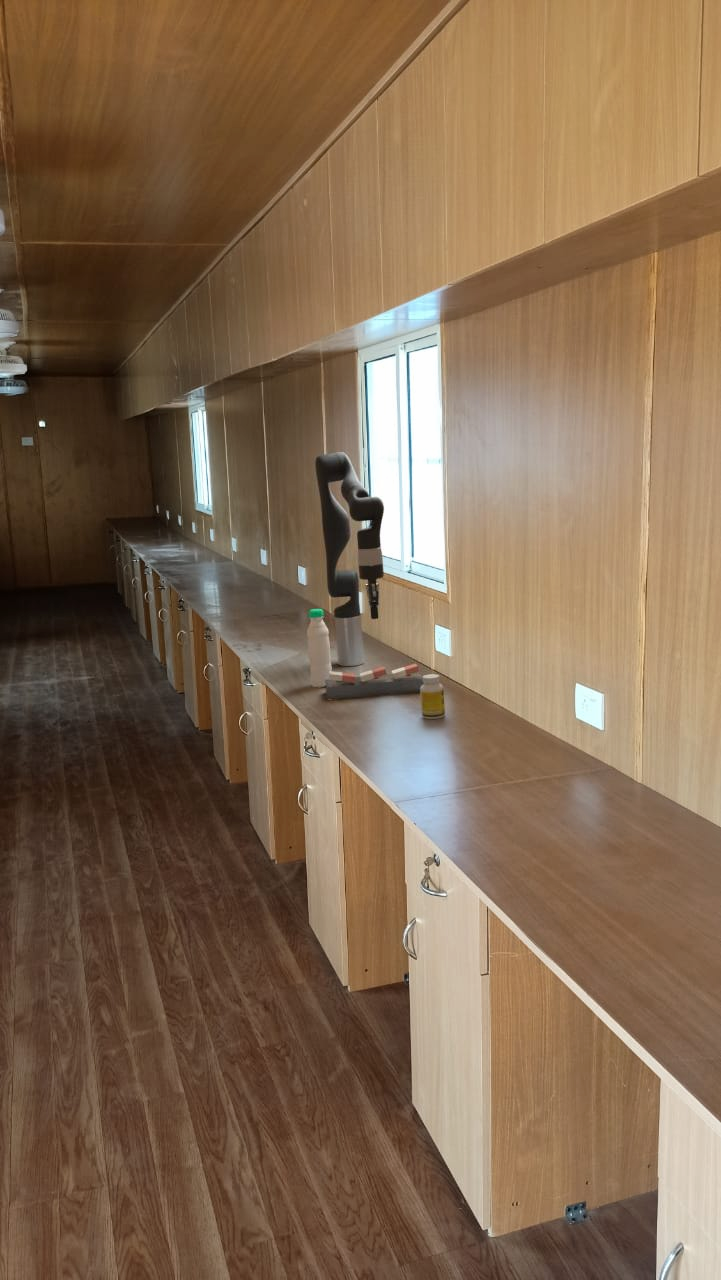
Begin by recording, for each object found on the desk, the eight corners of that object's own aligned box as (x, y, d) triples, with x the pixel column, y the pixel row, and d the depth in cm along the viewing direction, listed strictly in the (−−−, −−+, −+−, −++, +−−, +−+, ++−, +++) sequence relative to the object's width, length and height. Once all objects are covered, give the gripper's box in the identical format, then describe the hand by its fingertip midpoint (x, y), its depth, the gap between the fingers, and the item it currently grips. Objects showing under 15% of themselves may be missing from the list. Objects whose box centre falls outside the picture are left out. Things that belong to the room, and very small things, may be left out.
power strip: (326, 692, 312) (325, 679, 311) (420, 683, 313) (419, 670, 312) (327, 700, 302) (325, 686, 301) (424, 691, 303) (423, 678, 302)
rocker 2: (361, 679, 306) (359, 673, 306) (385, 671, 306) (384, 666, 306) (361, 682, 302) (360, 676, 302) (386, 674, 302) (385, 669, 302)
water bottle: (334, 682, 324) (328, 607, 319) (331, 687, 317) (325, 611, 312) (313, 683, 325) (306, 608, 320) (309, 688, 318) (303, 612, 313)
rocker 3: (392, 676, 307) (391, 670, 306) (417, 668, 307) (415, 663, 306) (394, 679, 303) (392, 673, 302) (419, 671, 303) (417, 666, 302)
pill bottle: (443, 719, 272) (441, 678, 269) (420, 720, 273) (417, 679, 271) (446, 713, 278) (444, 673, 275) (423, 713, 279) (421, 673, 277)
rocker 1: (328, 676, 305) (329, 671, 305) (354, 679, 306) (354, 674, 306) (328, 679, 301) (329, 673, 301) (354, 682, 302) (355, 677, 302)
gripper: (356, 562, 308) (361, 616, 311) (359, 566, 295) (364, 623, 298) (380, 560, 309) (384, 614, 312) (384, 563, 296) (388, 620, 299)
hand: (374, 618), depth 305 cm, fingers closed
